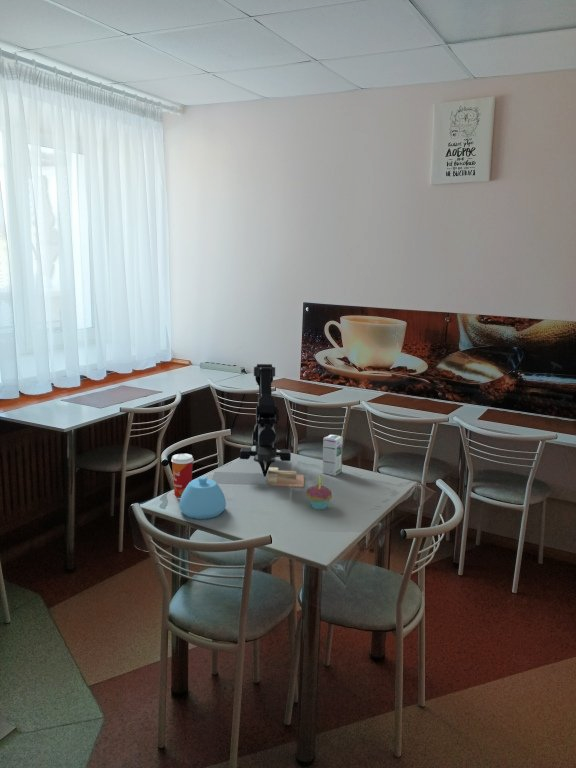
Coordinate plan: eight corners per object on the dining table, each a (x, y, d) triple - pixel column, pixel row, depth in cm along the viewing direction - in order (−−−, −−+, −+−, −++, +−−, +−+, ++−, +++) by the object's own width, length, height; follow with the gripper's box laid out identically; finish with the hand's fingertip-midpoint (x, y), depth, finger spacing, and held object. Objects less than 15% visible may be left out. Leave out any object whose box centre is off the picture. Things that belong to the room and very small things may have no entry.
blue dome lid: (185, 523, 195) (185, 488, 193) (175, 505, 209) (174, 472, 207) (231, 517, 201) (231, 483, 199) (218, 500, 215) (218, 467, 212)
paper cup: (170, 491, 220) (169, 453, 217) (192, 490, 223) (191, 452, 220) (173, 500, 213) (172, 460, 210) (195, 498, 215) (195, 459, 212)
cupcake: (332, 512, 207) (333, 477, 205) (306, 511, 207) (307, 477, 204) (330, 501, 215) (331, 468, 213) (305, 501, 215) (306, 468, 213)
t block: (268, 474, 239) (269, 467, 238) (296, 475, 238) (296, 468, 238) (267, 484, 229) (267, 476, 228) (295, 485, 228) (296, 477, 228)
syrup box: (335, 476, 240) (337, 439, 238) (321, 473, 243) (323, 437, 240) (341, 471, 245) (343, 436, 242) (328, 469, 248) (329, 433, 245)
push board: (214, 472, 240) (214, 471, 240) (303, 475, 240) (303, 474, 240) (210, 484, 228) (210, 483, 228) (303, 487, 228) (303, 486, 228)
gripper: (238, 441, 223) (237, 482, 226) (290, 443, 222) (289, 485, 226) (241, 432, 234) (240, 472, 237) (291, 434, 233) (290, 474, 236)
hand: (264, 476), depth 234 cm, fingers closed
